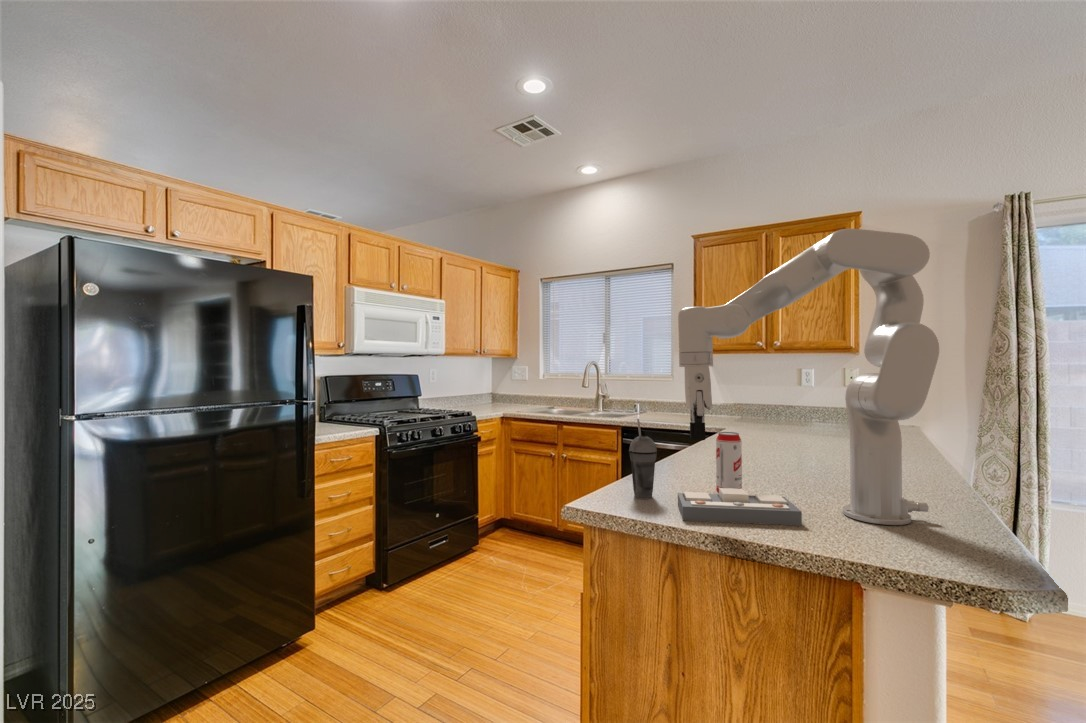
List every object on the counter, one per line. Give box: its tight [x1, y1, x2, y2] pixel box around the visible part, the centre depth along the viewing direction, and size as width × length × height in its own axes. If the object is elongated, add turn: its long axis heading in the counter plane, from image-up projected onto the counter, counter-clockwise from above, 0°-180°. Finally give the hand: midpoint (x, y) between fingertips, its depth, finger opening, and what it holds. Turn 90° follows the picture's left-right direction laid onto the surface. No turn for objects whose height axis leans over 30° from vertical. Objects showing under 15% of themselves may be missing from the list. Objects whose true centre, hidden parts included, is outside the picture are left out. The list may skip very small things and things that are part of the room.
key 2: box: [754, 494, 787, 505], centre depth 113 cm, size 5×5×3 cm
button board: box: [677, 492, 803, 527], centre depth 112 cm, size 24×12×4 cm, turn 80°
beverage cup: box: [628, 418, 658, 500], centre depth 129 cm, size 7×7×20 cm
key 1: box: [683, 491, 711, 502], centre depth 116 cm, size 5×5×3 cm
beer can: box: [715, 431, 743, 494], centre depth 130 cm, size 6×6×16 cm
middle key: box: [718, 488, 750, 503], centre depth 114 cm, size 5×5×3 cm
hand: (697, 439), depth 116 cm, fingers closed
